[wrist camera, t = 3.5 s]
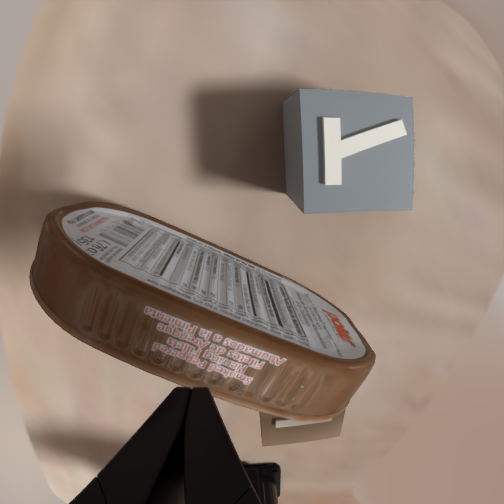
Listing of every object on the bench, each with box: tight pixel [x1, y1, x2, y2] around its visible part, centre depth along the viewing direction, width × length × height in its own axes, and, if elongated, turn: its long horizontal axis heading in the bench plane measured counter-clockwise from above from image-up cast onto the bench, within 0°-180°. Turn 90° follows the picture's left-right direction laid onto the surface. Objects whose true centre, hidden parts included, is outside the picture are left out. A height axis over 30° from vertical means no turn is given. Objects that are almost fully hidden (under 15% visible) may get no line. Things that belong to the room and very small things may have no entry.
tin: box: [30, 202, 376, 422], centre depth 13 cm, size 15×3×8 cm, turn 64°
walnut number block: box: [259, 408, 346, 446], centre depth 17 cm, size 4×4×5 cm
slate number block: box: [282, 89, 414, 214], centre depth 13 cm, size 4×4×5 cm
